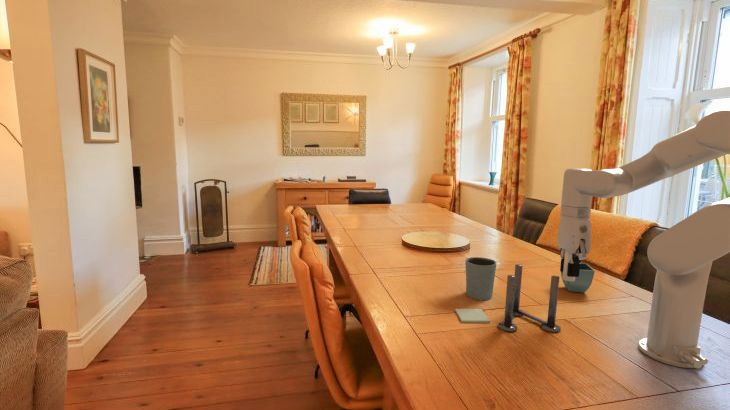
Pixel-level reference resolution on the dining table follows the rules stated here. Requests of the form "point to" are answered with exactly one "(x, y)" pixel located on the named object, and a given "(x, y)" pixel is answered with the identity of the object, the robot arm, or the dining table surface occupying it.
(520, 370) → the dining table surface
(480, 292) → the grey teal cup
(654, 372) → the dining table surface
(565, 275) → the dowel
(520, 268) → the upright post stand
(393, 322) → the dining table surface
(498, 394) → the dining table surface
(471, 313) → the pad
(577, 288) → the flower pot
